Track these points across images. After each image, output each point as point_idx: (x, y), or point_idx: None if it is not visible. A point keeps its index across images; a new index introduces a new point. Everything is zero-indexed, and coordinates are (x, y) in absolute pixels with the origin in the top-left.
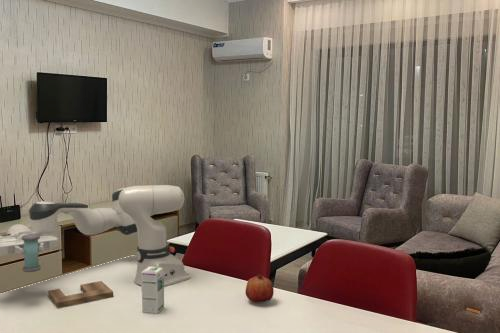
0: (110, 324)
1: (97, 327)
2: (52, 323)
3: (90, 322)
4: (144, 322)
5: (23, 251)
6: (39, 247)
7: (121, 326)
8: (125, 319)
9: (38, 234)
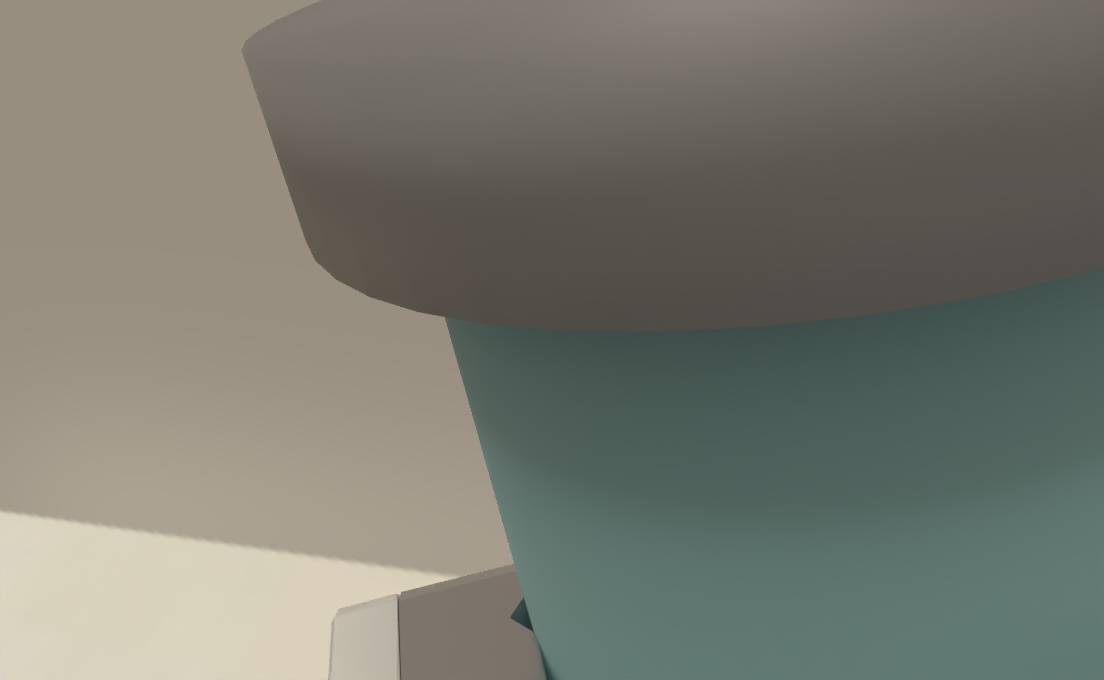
0: (196, 589)
1: (289, 565)
2: None
3: (298, 637)
4: (10, 582)
5: None
6: (479, 578)
7: (157, 557)
8: (67, 638)
9: (273, 49)
